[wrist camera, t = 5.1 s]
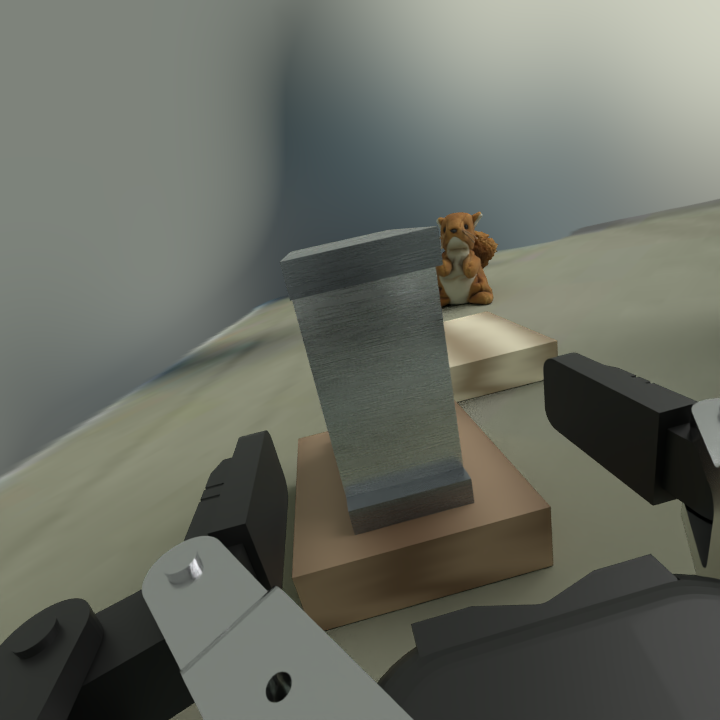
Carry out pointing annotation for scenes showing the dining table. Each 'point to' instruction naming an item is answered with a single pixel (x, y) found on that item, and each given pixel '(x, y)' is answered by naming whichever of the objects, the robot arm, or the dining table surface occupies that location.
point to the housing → (382, 372)
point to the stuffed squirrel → (464, 260)
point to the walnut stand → (412, 537)
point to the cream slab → (493, 354)
